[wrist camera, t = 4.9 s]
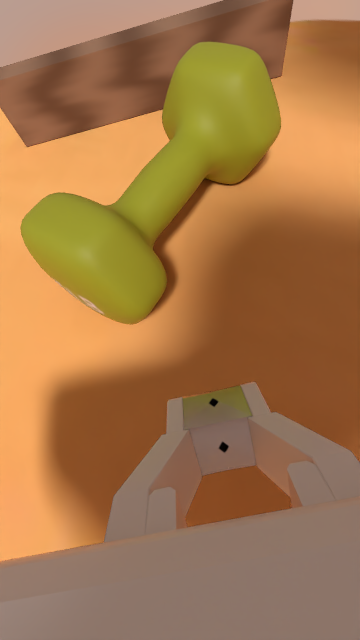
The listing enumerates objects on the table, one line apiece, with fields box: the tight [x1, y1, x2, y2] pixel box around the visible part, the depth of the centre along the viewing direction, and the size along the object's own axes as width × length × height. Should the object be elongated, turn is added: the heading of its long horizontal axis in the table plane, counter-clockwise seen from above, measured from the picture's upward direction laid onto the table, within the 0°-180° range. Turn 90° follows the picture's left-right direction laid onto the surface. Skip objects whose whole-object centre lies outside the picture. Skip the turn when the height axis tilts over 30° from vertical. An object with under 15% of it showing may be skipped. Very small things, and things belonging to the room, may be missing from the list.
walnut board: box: [0, 0, 293, 147], centre depth 23 cm, size 24×2×5 cm, turn 100°
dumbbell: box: [21, 42, 281, 324], centre depth 16 cm, size 16×8×7 cm, turn 145°
